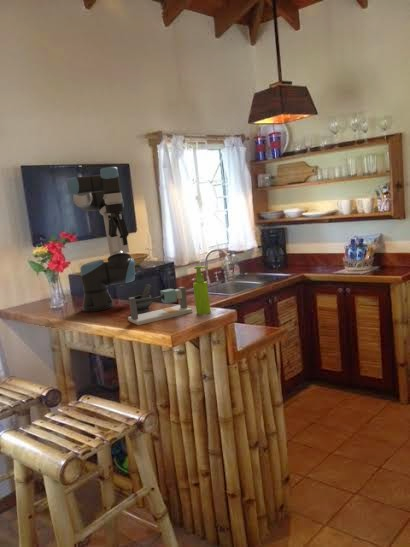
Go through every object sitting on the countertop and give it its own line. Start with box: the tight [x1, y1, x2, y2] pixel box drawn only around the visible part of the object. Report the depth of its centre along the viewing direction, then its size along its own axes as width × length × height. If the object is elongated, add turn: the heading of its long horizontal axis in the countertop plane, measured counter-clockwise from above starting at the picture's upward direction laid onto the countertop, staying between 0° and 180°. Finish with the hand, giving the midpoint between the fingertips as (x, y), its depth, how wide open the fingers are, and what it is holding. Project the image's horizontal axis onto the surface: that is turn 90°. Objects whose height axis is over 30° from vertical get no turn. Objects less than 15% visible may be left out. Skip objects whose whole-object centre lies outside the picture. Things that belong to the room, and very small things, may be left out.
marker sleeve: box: [159, 288, 178, 304], centre depth 217 cm, size 5×5×5 cm
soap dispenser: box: [192, 265, 212, 315], centre depth 211 cm, size 6×7×20 cm
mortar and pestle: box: [133, 283, 153, 315], centre depth 228 cm, size 11×9×12 cm
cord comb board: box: [127, 286, 193, 326], centre depth 215 cm, size 12×25×10 cm, turn 118°
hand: (120, 252), depth 221 cm, fingers open, 13 cm apart
